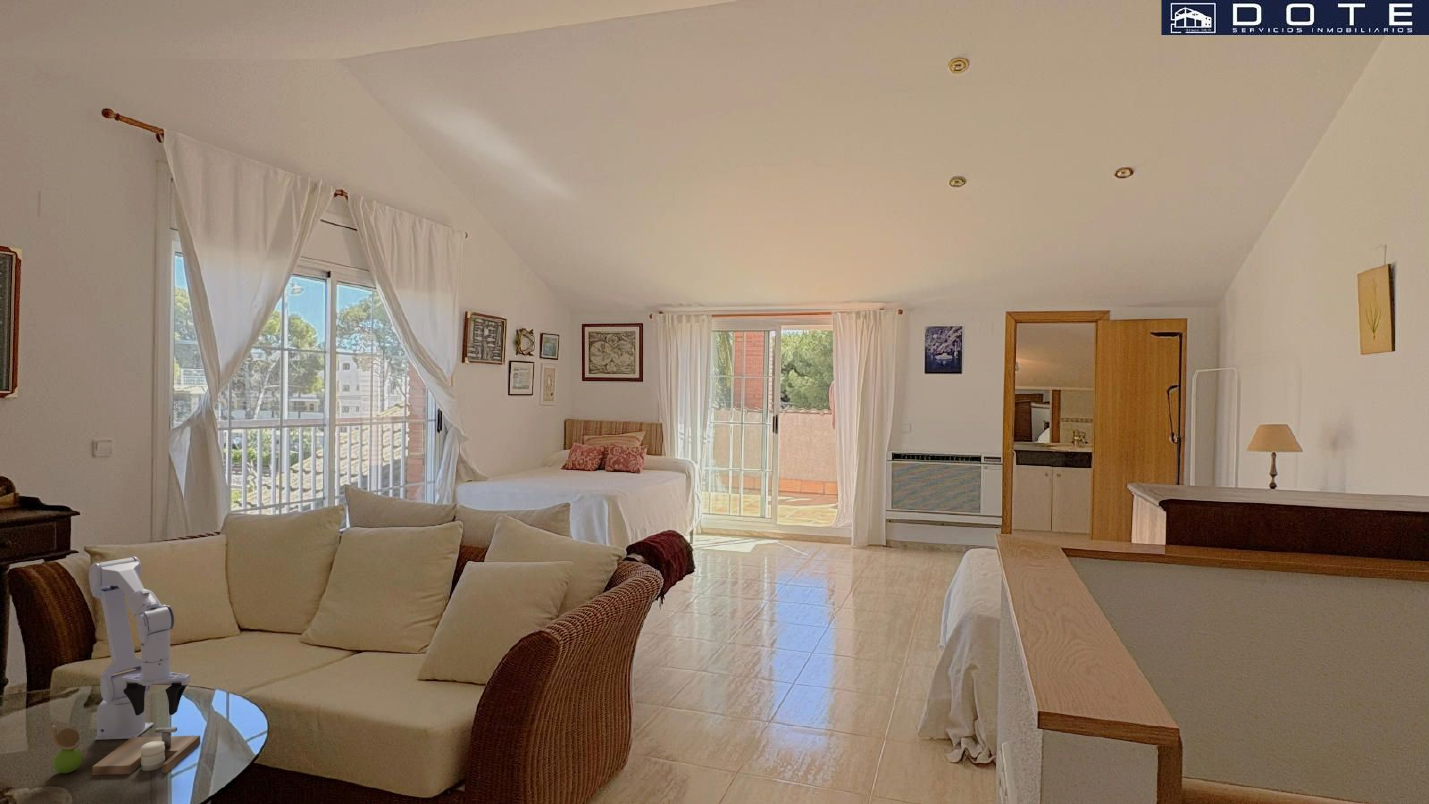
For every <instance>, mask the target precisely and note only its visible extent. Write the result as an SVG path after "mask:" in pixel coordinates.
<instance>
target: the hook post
mask: <svg viewBox="0 0 1429 804" xmlns="http://www.w3.org/2000/svg"><path fill="white" fill-rule="evenodd" d="M154 732H155V734H157V733H158V734H159V733H160V734H161V737H162V741H163V742H164V746H165V750H166V749H169V748H171V736H172V733H176V732H178V727H177V726H176V727H175V726H173V727H172V726H170V727H169V726H167V727H156V728H155V731H154Z"/></svg>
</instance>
